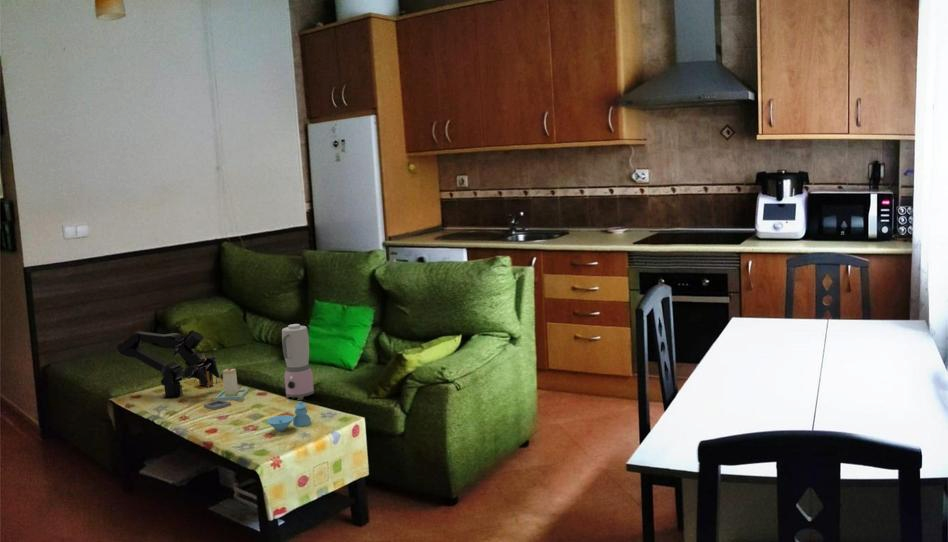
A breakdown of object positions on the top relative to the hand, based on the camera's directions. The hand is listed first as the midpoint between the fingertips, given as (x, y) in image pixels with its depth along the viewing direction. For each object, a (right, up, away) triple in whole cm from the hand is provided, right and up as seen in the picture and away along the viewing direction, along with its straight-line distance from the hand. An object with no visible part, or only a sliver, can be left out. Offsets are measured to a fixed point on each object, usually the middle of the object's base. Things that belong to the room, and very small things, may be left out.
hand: (213, 380), depth 367 cm
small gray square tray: (+7, -10, -15) cm, 19 cm away
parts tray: (+9, -8, -1) cm, 12 cm away
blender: (+40, -7, -7) cm, 41 cm away
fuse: (+9, -7, -1) cm, 11 cm away
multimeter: (-8, -5, +24) cm, 26 cm away
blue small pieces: (+45, -12, -48) cm, 67 cm away
